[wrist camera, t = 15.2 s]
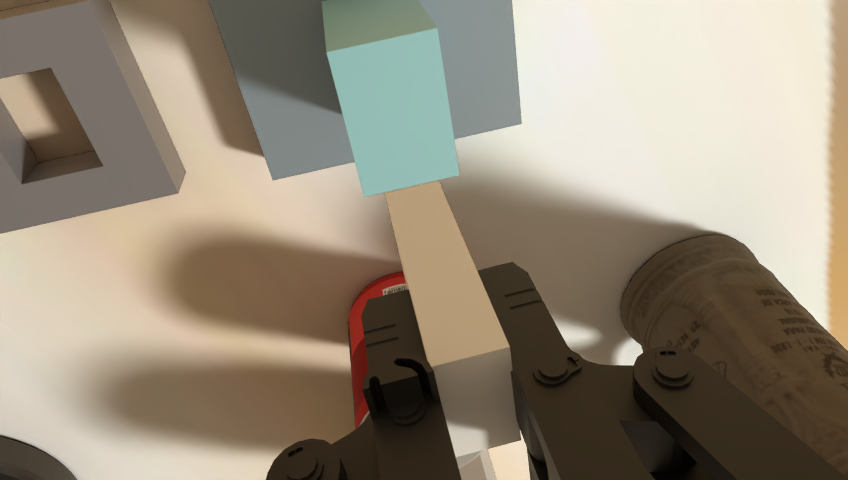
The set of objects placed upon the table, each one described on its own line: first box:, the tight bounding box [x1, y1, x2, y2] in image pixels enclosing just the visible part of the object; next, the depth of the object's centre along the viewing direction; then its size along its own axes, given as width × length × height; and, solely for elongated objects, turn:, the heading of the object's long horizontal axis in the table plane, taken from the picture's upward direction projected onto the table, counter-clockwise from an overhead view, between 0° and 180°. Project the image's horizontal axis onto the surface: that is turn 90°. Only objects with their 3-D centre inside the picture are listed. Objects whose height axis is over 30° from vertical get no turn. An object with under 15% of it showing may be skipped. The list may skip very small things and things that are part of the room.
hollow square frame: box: [0, 0, 186, 234], centre depth 30 cm, size 10×10×2 cm
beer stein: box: [621, 235, 848, 478], centre depth 40 cm, size 15×11×20 cm
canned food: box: [348, 272, 483, 468], centre depth 38 cm, size 8×8×11 cm
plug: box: [322, 0, 460, 197], centre depth 27 cm, size 4×6×11 cm, turn 9°
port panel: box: [208, 0, 522, 180], centre depth 31 cm, size 14×11×2 cm
